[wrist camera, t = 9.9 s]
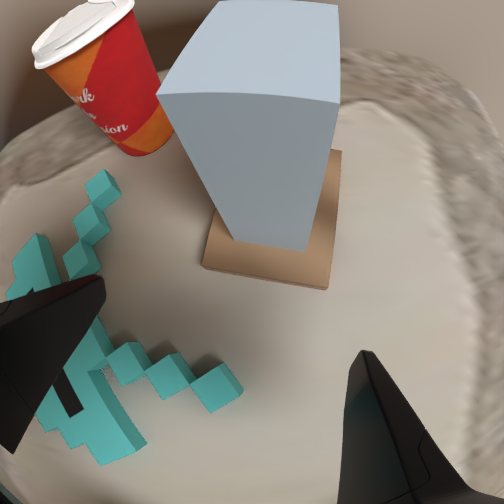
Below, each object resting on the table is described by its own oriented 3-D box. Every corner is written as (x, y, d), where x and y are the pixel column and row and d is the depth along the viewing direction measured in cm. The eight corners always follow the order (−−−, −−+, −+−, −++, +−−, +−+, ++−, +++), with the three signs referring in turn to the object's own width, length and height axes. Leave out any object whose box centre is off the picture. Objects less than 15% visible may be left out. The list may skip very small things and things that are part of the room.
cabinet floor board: (325, 290, 18) (337, 278, 14) (206, 269, 19) (186, 253, 15) (339, 157, 20) (348, 123, 16) (238, 144, 21) (229, 109, 17)
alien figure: (116, 180, 23) (-1, 300, 21) (103, 168, 20) (-15, 297, 19) (244, 388, 17) (75, 472, 16) (240, 395, 15) (61, 479, 14)
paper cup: (106, 130, 24) (32, 36, 11) (171, 92, 24) (120, -20, 11) (121, 183, 22) (17, 74, 8) (199, 137, 22) (137, -6, 9)
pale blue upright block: (305, 252, 17) (340, 103, 5) (234, 240, 18) (155, 94, 6) (316, 169, 19) (337, 5, 7) (252, 161, 20) (219, 1, 8)
